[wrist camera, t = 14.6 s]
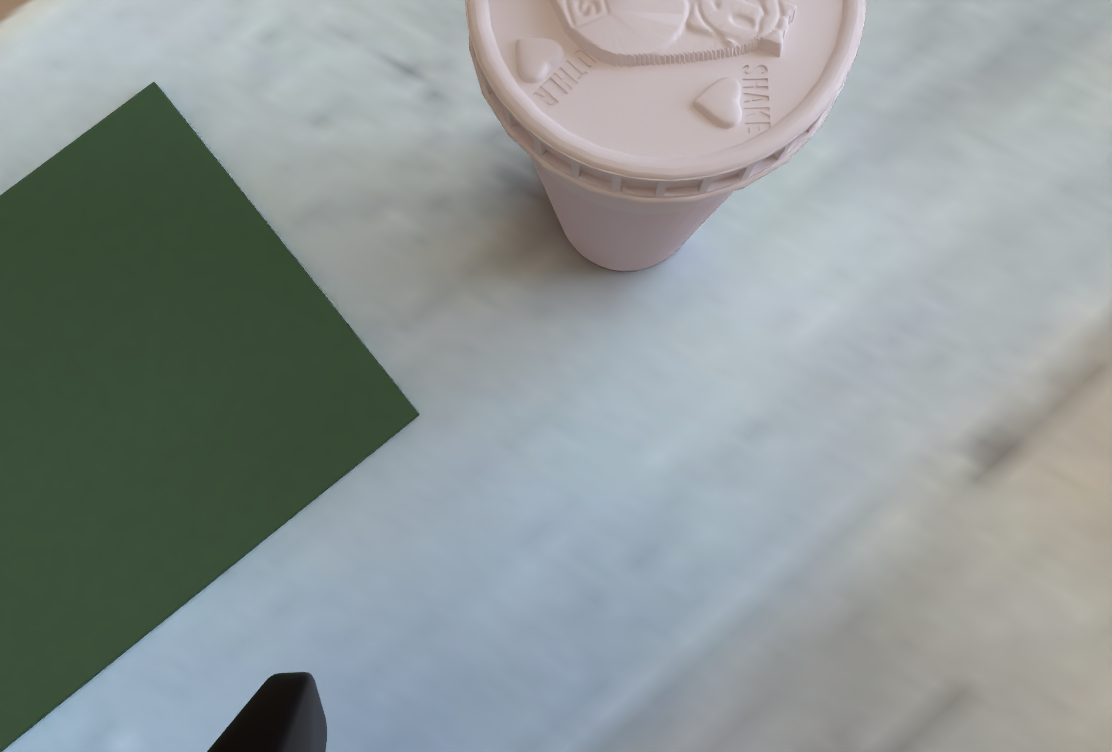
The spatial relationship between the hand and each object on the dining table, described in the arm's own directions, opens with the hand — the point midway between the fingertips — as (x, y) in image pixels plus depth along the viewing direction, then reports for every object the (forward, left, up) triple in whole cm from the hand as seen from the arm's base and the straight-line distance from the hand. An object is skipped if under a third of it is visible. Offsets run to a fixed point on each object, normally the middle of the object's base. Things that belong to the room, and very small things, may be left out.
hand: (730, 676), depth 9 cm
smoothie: (+9, +4, -12) cm, 16 cm away
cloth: (-5, +17, -12) cm, 21 cm away
